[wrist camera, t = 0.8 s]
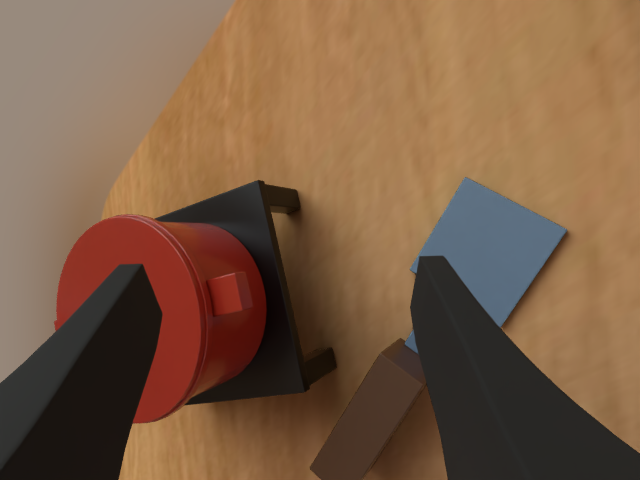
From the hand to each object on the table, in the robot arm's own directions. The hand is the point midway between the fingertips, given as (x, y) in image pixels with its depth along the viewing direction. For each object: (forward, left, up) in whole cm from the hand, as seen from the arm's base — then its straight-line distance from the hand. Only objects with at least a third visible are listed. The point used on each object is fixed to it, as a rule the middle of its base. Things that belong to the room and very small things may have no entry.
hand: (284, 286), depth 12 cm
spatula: (-4, 0, -13) cm, 14 cm away
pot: (0, +11, -13) cm, 17 cm away
